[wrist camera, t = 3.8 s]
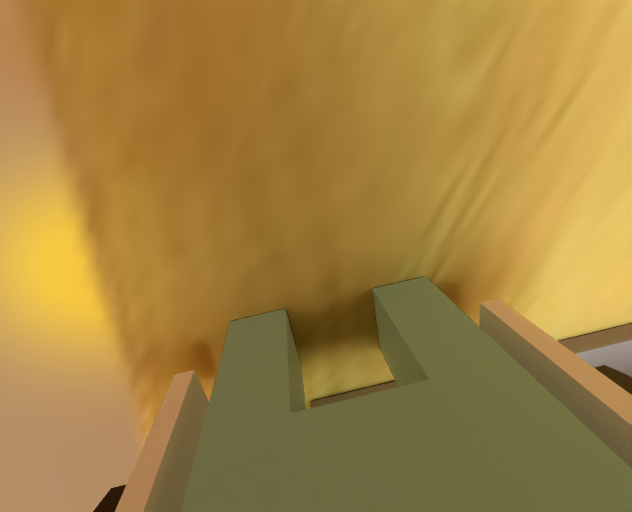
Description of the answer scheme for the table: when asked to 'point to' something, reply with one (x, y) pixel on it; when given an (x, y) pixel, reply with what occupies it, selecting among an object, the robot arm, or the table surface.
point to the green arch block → (397, 426)
